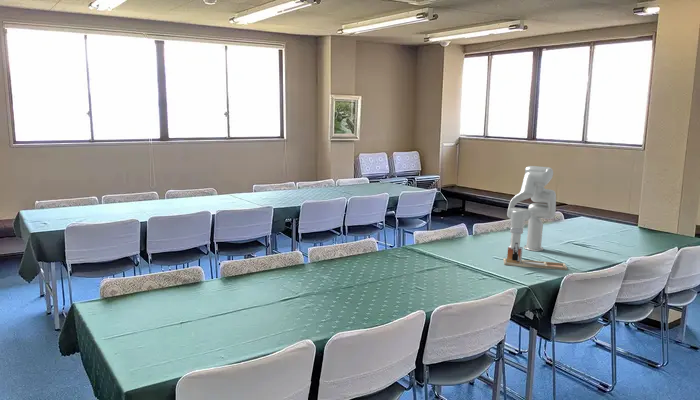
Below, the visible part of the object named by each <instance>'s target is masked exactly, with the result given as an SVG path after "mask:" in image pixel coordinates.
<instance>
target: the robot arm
mask: <svg viewBox="0 0 700 400" xmlns="http://www.w3.org/2000/svg"><path fill="white" fill-rule="evenodd" d="M553 176H554V170H553V168H551V167H549V166H538V165H537V166H536V165H528V166H526V167H525V169H524V175H523V179H522V183H521V187H520V191H519V193H517V194H515V195H514V196H513V197H512V198H511V200H510V201H509V204H508V208H507V212H506V216H507V218H508V219H510V227H509V228H510V229H509V233H511V234H510V245H509V246H510V247H511V249H513V255H512V260H516V261H517V260H518V250H519V248H520V247H521V237H522V236H521V235H523V233H524V224H525V222H527V221H528V225H527V236H526V245H525V244H524V246H523V249H525V250H528V251H530V252H531V251H533V252H541V251H543V250H544V247H542V241H543V227H544V224H543V221H542V219H545V220H547V219H548V220H552V219H555V217H556V207H557V195H556V191H555V190H553V189H549V188H548V189H546V188H545V186H547V185H548V184H549V182H550V181H551V180H552V179H553ZM528 199H530V200H531V202H533V203H531V204H528V207H527V208H522V207H515V206H517V204H518V203H519V202H520V203H521V202H522V201H525V200H528ZM514 248H515V249H514ZM514 250H515V251H514Z"/></svg>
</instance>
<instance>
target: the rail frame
mask: <svg viewBox="0 0 700 400" xmlns="http://www.w3.org/2000/svg"><path fill="white" fill-rule="evenodd" d="M502 259H503V265H504V266H512V267H522V268H523V267H526V268H538V269H548V270H549V269H550V270H558V269H559V270H560V271H561V270H562V271H568V267H567V265H566V263H565V262H553V261H541V260H540V261H539V260H528V259H522V260H521V263H509V262H507V257H505V258H502Z"/></svg>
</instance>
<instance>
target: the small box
mask: <svg viewBox="0 0 700 400" xmlns="http://www.w3.org/2000/svg"><path fill="white" fill-rule="evenodd" d="M514 249H515V248H514ZM523 249H524V246H520V248H519V250H518V260H517V261H516V260H512V255H513V249H511V247H510V245H508V246H507V254H506V258H507V261H506V262H509V263H521V264H522V262H521V260H523V259H522V258H523ZM514 251H515V250H514Z"/></svg>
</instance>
